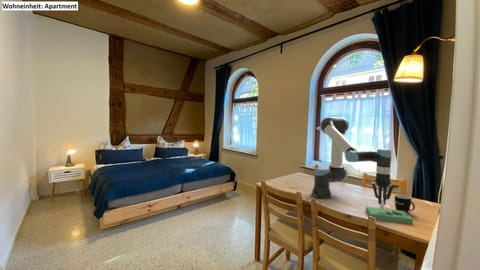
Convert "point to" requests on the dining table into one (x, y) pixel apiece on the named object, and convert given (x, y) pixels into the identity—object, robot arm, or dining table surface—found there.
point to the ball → (388, 209)
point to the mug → (403, 203)
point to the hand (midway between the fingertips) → (381, 208)
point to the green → (389, 215)
